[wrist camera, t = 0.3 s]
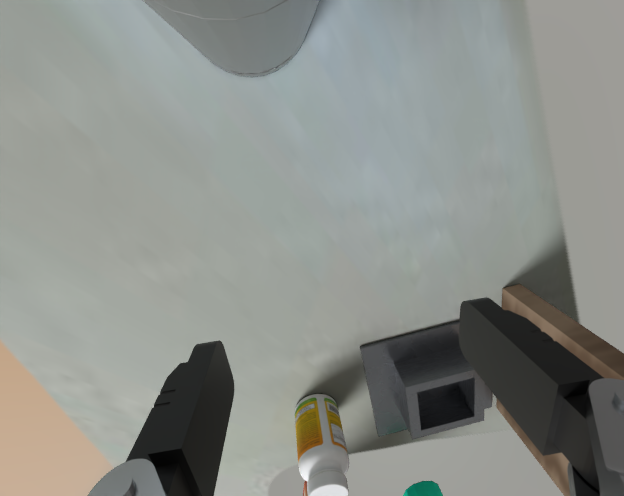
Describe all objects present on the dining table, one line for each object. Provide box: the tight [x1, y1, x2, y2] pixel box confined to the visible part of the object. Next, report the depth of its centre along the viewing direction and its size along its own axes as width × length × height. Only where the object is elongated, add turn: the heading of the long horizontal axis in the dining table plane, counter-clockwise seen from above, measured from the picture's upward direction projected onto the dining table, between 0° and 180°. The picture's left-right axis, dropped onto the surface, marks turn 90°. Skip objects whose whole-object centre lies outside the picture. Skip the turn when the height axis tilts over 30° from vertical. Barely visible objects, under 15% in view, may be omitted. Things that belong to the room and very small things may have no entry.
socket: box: [360, 321, 492, 439], centre depth 36 cm, size 16×16×4 cm
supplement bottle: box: [295, 394, 349, 496], centre depth 33 cm, size 5×5×10 cm
